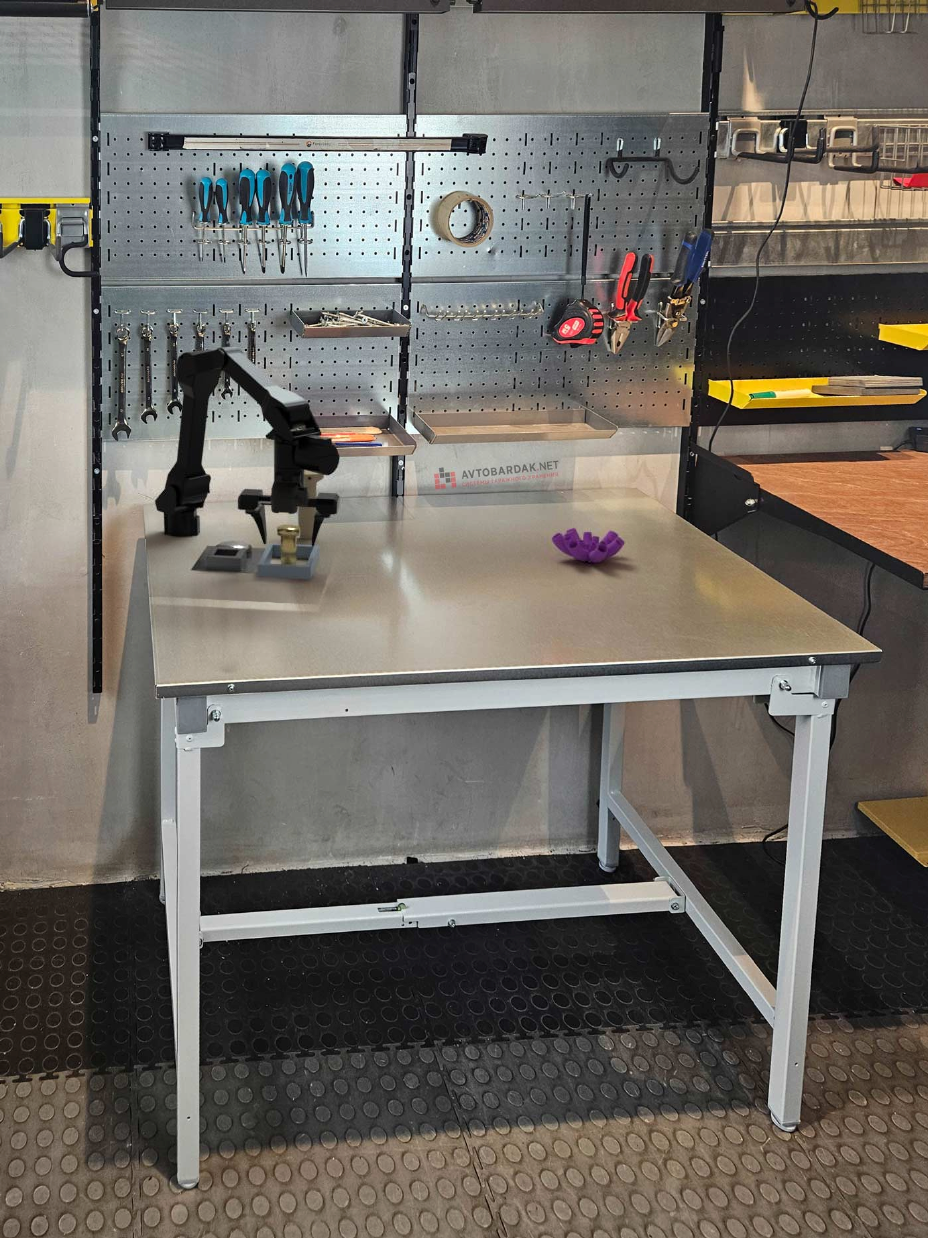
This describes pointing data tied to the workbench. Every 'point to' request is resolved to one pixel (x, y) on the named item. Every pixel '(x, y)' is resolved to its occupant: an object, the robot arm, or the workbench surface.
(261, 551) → the grey socket base
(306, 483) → the handle
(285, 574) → the pin tray
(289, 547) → the pin
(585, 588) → the workbench surface
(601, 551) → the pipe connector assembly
